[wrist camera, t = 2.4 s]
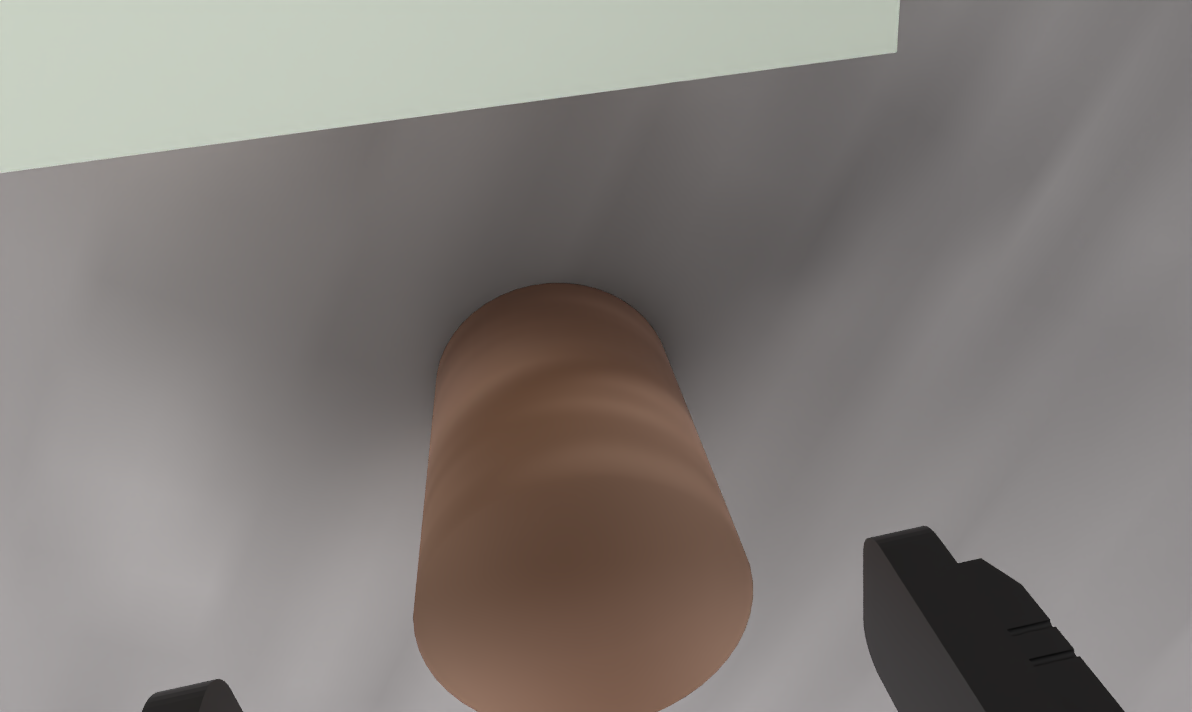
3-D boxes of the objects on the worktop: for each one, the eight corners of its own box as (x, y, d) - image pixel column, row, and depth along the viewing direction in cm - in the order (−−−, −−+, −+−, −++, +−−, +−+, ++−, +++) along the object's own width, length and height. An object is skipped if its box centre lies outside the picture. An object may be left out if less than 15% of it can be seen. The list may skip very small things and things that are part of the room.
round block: (654, 260, 16) (739, 443, 10) (681, 461, 18) (764, 694, 13) (407, 310, 16) (369, 519, 10) (466, 505, 18) (460, 758, 13)
